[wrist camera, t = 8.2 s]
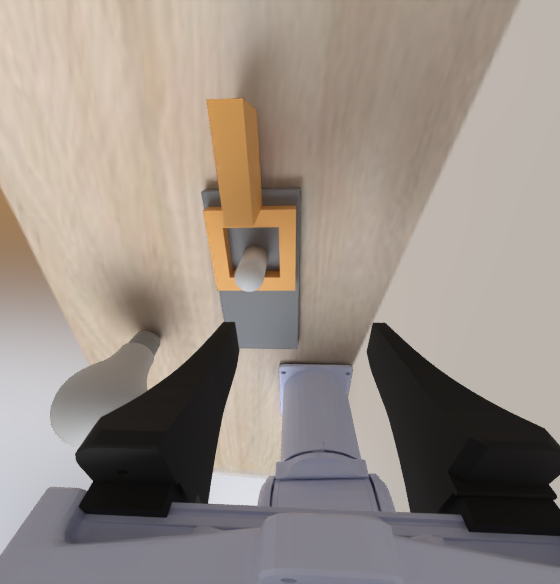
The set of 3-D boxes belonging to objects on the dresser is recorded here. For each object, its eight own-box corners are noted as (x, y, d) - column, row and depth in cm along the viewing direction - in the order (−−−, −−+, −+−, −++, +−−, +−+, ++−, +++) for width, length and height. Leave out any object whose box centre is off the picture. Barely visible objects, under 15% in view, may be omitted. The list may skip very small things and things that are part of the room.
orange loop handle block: (295, 283, 21) (295, 319, 17) (220, 283, 21) (203, 318, 17) (296, 108, 15) (298, 96, 11) (191, 112, 15) (152, 101, 11)
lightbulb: (112, 312, 25) (3, 416, 16) (171, 310, 24) (96, 416, 15) (134, 356, 28) (55, 464, 19) (187, 355, 28) (133, 466, 18)
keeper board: (297, 342, 26) (298, 386, 21) (231, 341, 26) (217, 385, 22) (299, 187, 18) (302, 203, 13) (205, 189, 18) (175, 206, 14)
